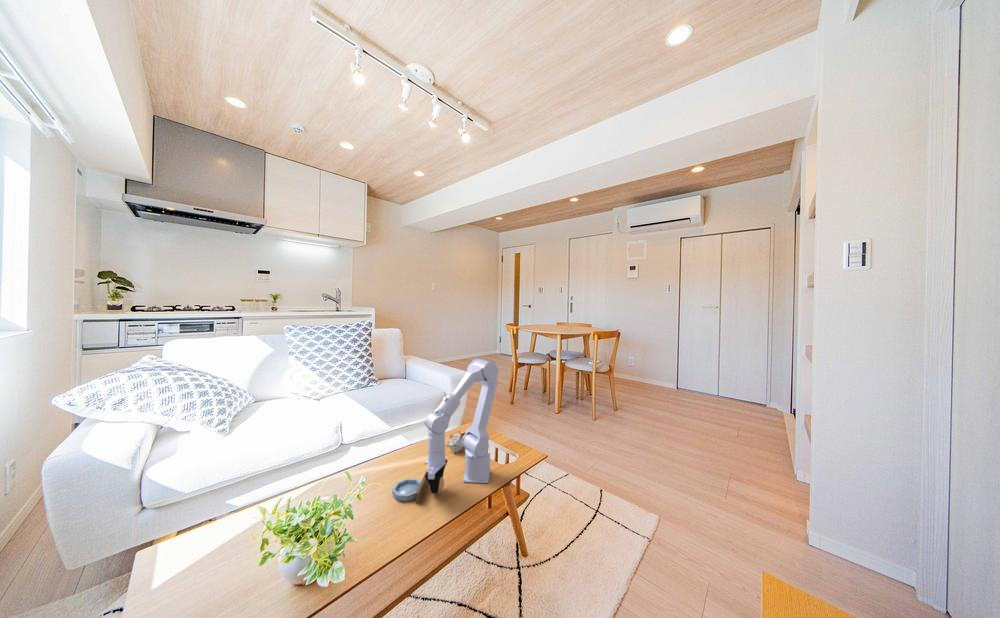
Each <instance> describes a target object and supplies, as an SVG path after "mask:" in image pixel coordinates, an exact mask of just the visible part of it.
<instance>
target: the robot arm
mask: <svg viewBox="0 0 1000 618" xmlns="http://www.w3.org/2000/svg"><path fill="white" fill-rule="evenodd" d="M498 374H499V368H498V366H497V363H495V362H494V361H489V360H486V359H482V358H481V357H476V358H474V359H473V360H472V361H471V362H470V364H468V366H467V370H466V372H465V374H464V376H462V378H461V380H460V382H459V383H458V384H457V386H456V388H454V389H453V390H454V391H453V392H452V393H449V394H447V395H446V396H443V398H442V401H441V402H440V404H439V405H438V406H437V407H436V409H434V411H433V412H431V413H429V415H428V416H427V417H426V420H425V421H424V425H425V427H426V428H427V458H428V459H425V461H424V465H427V471H426V472H425V473H424V475H425V478H426V479H427V481H428V487H429V486H430V488H429V491H430V493H431V494H439V492H438V489H439V483H440V479H441V477H442V478H443V477H444V473H445V468H446V465H447V463H448V459H446V430H448V428H449V424H450V421H451V417H452V416H453V415H454V413H455V412H456V411H457V410H458V408H459V407H460V406H461V399H462V398H463V396H464V395H465V394H466V393H467V392H468V390H469V389H470V388H471V387H472V386H473V385H474V384H475V383H477V382H478V383H479V382H480V383H481V384H482V385H481V389H480V393H479V397H478V401H477V405H476V409H475V413H474V416H473V420H472V423H471V425H470V426H468V427H467V428H466V432H465V434H464V435H462V436H463V439H462V445H463V447H464V448H463V449H464V452H465V454H464V455H465V456H464V457H465V458H464V459H465V463H464V464H465V467H464V469H465V471H464V474H463V479H462V483H475V484H476V483H478V484H489V482H490V474H491V453H489V447H490V443H489V439H490V436H489V433H488V431H487V426H488V422H489V419H490V414H491V410H492V408H493V402H494V399H495V395H496V391H497V387H498V383H499V382H498V381H499V380H498ZM443 479H444V478H443Z"/></svg>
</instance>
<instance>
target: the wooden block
mask: <svg viewBox="0 0 1000 618" xmlns="http://www.w3.org/2000/svg"><path fill="white" fill-rule="evenodd" d="M420 482H421V483H420V485H419V487H418V489H417V491H416V498H415V505H416V504H417V505H419V504H420V502H421V499H422V498H423V495H424V492H425V491H426V488H427V486H428V485H429V483H428V481H427V479H426V478H425V474H424V475H423V478H422V479H421V481H420Z"/></svg>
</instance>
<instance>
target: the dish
mask: <svg viewBox="0 0 1000 618" xmlns="http://www.w3.org/2000/svg"><path fill="white" fill-rule="evenodd" d="M420 483H421V481H420V480H419V479H418V478H404V479H402V480H400V481H397V482H396V483H395V484H394V486H393V488H392V491H391V492H392V495H393V496H392V497H393V499H394V500H396V501H398V502H402V503H403V502H405V503H406V502H411V501H414V500H416V491H417V489H418V487H419V485H420Z"/></svg>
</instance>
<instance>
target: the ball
mask: <svg viewBox="0 0 1000 618" xmlns="http://www.w3.org/2000/svg"><path fill="white" fill-rule="evenodd" d="M444 486H445V480H444V478H442V477H441V479H440V483H439V489H438V493H440V492H442V490H443V489H444ZM428 487H429V489H430V486H429V485H428Z"/></svg>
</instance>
